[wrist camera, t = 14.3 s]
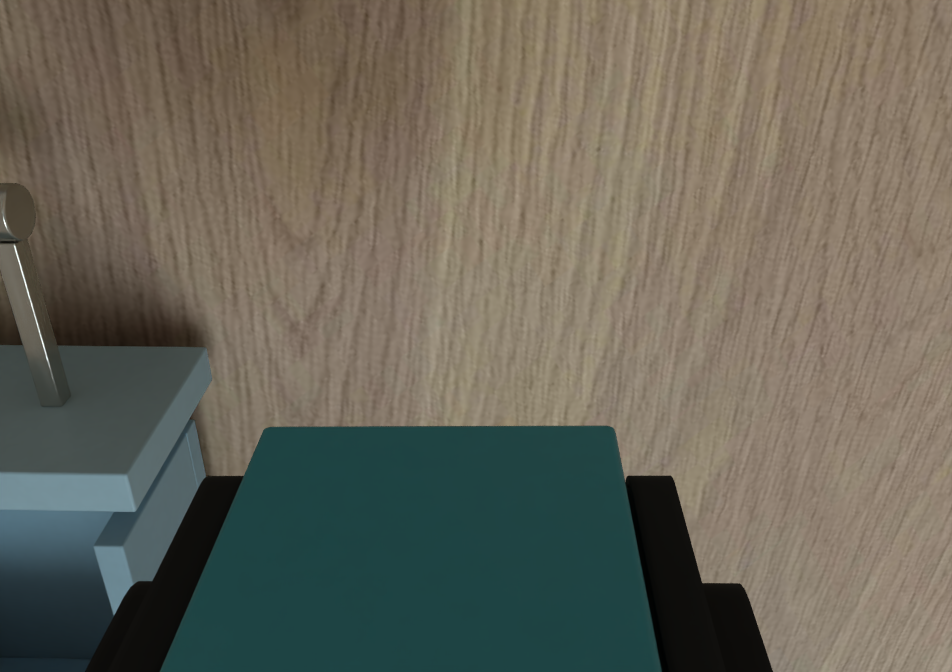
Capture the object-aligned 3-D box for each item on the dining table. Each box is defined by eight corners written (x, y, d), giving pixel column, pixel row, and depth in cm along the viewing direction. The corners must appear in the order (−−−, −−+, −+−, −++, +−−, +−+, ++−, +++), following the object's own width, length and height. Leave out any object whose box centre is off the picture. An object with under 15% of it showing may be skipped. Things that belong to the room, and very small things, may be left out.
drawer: (-239, 146, 23) (-470, 231, 18) (170, 147, 23) (64, 235, 17) (-29, 645, 33) (-136, 802, 27) (263, 652, 32) (213, 812, 27)
